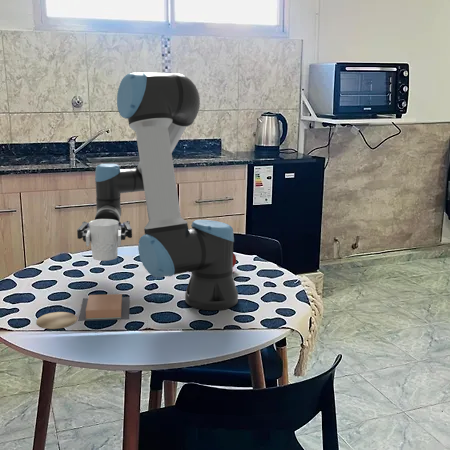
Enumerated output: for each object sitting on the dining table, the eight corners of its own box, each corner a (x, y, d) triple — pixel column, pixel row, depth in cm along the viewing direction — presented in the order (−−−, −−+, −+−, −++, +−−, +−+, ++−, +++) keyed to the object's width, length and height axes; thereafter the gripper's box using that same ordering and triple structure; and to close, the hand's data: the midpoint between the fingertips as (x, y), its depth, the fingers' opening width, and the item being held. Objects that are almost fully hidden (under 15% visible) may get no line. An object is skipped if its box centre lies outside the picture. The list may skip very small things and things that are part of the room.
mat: (83, 300, 167) (83, 298, 167) (129, 298, 169) (129, 296, 168) (78, 322, 152) (78, 320, 152) (129, 321, 154) (129, 318, 154)
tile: (88, 295, 162) (85, 310, 152) (122, 294, 164) (121, 309, 153) (89, 303, 163) (86, 319, 153) (122, 302, 164) (121, 318, 154)
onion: (216, 268, 196) (216, 245, 194) (232, 267, 198) (233, 244, 196) (221, 274, 191) (222, 250, 189) (238, 272, 193) (239, 249, 191)
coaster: (85, 320, 153) (85, 317, 153) (55, 334, 145) (55, 331, 145) (58, 311, 158) (57, 309, 158) (28, 324, 150) (28, 321, 150)
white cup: (116, 262, 159) (115, 226, 156) (87, 261, 159) (85, 225, 156) (121, 253, 166) (121, 219, 164) (94, 252, 166) (92, 218, 164)
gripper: (141, 232, 181) (142, 253, 159) (73, 233, 178) (64, 255, 156) (141, 208, 179) (142, 226, 157) (72, 209, 176) (63, 228, 154)
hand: (103, 241), depth 156 cm, fingers closed on white cup, 8 cm apart
